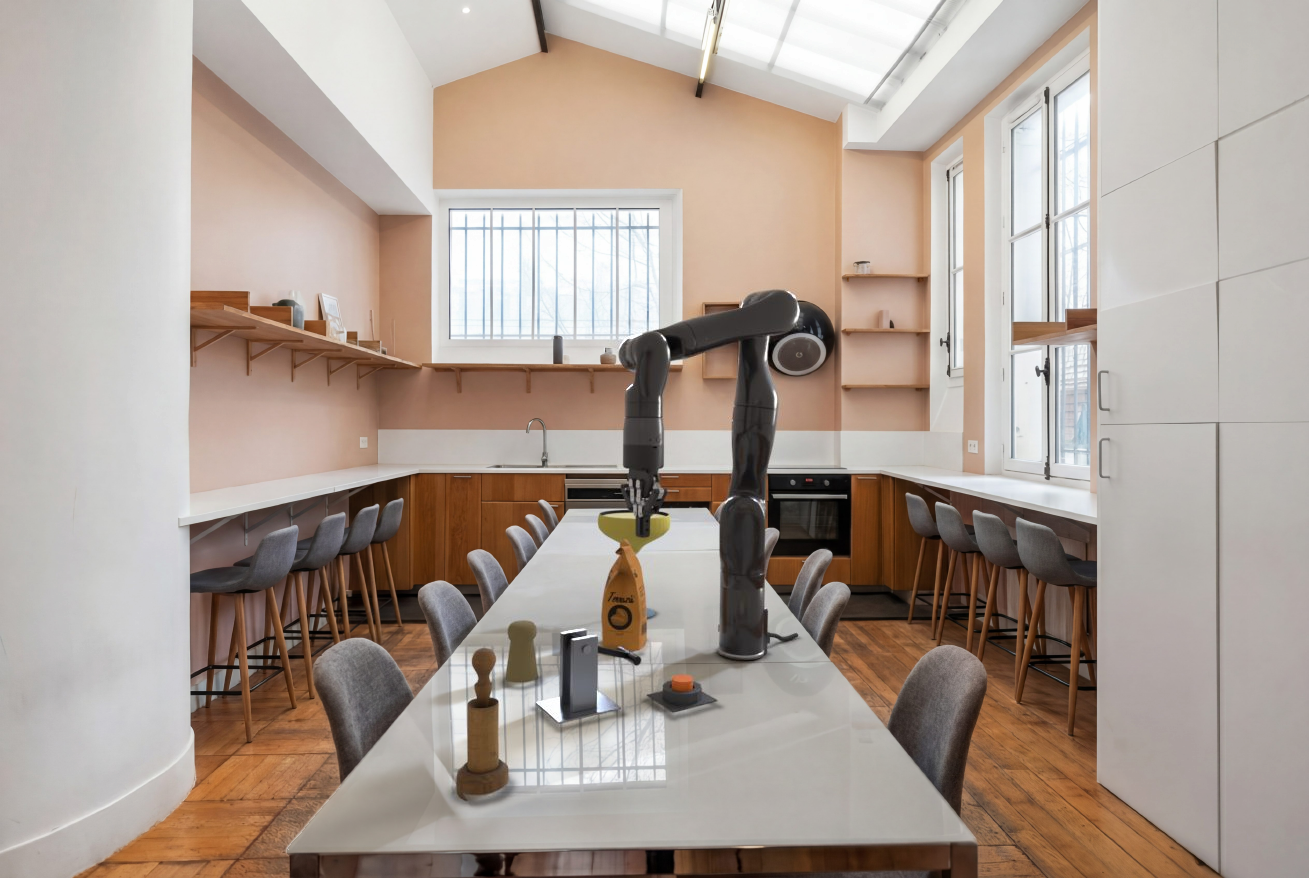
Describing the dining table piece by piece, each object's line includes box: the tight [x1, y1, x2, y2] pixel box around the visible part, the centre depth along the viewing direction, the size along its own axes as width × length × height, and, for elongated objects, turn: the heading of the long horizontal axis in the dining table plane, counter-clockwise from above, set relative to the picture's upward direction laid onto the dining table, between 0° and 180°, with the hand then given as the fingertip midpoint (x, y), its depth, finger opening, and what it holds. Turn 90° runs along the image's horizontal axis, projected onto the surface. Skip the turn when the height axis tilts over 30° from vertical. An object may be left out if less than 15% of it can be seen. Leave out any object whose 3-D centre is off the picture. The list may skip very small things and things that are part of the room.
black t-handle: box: [567, 635, 642, 667], centre depth 114 cm, size 12×6×2 cm, turn 123°
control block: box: [646, 680, 718, 713], centre depth 116 cm, size 9×8×3 cm
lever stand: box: [535, 628, 622, 724], centre depth 112 cm, size 11×9×13 cm
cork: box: [505, 619, 538, 684], centre depth 125 cm, size 6×6×11 cm
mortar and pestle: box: [455, 647, 510, 802], centre depth 88 cm, size 7×6×18 cm
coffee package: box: [600, 539, 648, 652], centre depth 145 cm, size 10×12×22 cm
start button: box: [671, 673, 694, 691], centre depth 116 cm, size 4×4×2 cm
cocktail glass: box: [597, 509, 671, 619], centre depth 171 cm, size 18×18×25 cm
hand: (642, 536), depth 126 cm, fingers closed
